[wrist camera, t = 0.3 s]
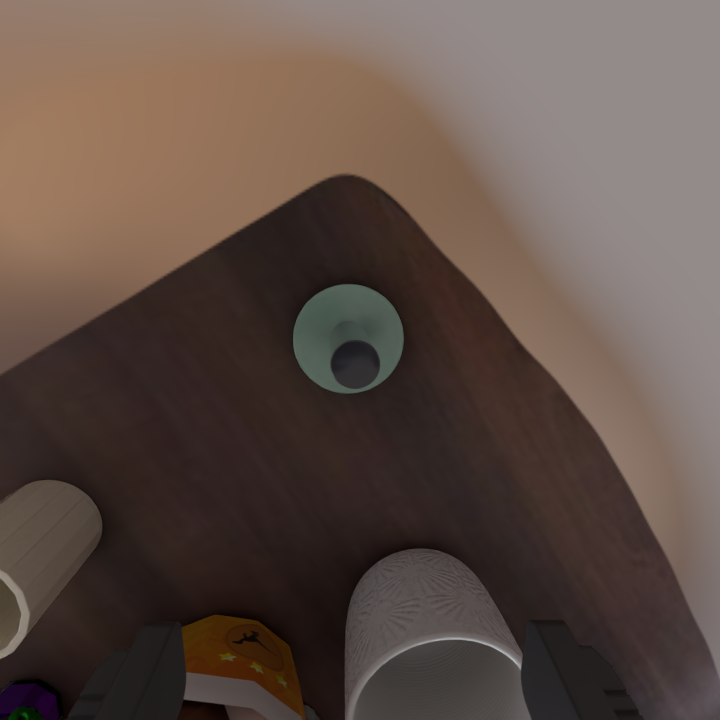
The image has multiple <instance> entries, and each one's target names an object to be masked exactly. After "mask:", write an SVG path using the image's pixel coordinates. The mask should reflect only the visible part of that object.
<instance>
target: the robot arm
mask: <svg viewBox="0 0 720 720" xmlns="http://www.w3.org/2000/svg"><path fill="white" fill-rule="evenodd" d="M521 686H522V692H523V696H524V700H525V703H526V706H527V709H528V712H529V714H530V717H531V720H644V719H643V717H642V715H639V712H638V709H637V707H636V705H635V704H634V702H633V700H632V699H631V697H630V695H627V693H626V689H625V687H624V685H623V684H622V682H621V680H620V679H619V677H618V675H617V674H616V672H615V670H614V669H613V667H612V666H611V665H610V664H609V663H608V662H607V661H606V660H605V659H604V658H603V657H602V656H601V655H600V654H599V653H598V652H597V651H595V650H594V649H593V648H592V647H591V646H578V644H577V642H576V641H575V639H574V637H573V635H572V633H571V631H570V630H569V628H568V626H567V625H566V623H565V622H564V621H562V620H530V621H528V623H527V627H526V635H525V642H524V650H523V657H522V665H521ZM185 688H186V665H185V655H184V646H183V636H182V628H181V624H180V622H145V623H144V624H143V625H142V626H141V628H140V630H139V631H138V633H137V635H136V637H135V639H134V641H133V643H132V645H131V647H130V649H115V650H114V651H113V652H112V653H111V654H110V655H109V656H108V657H107V658H106V659H105V660H104V661H103V662H102V663H101V664H100V665H99V666H98V667H97V668H96V669H95V670H94V671H93V673H92V675H91V676H90V678H89V680H88V682H87V683H86V685H85V687H84V689H83V690H82V692H81V694H80V698H79V700H77V701H76V703H75V704H74V706H73V708H72V710H71V711H70V713H69V715H68V719H67V720H177V718H178V715H179V712H180V709H181V706H182V703H183V699H184V694H185Z"/></svg>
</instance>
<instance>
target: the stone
mask: <svg viewBox="0 0 720 720" xmlns="http://www.w3.org/2000/svg"><path fill="white" fill-rule="evenodd" d="M303 706H304V711H305V717H306V720H321V719H320V718H319V717H318V715H316V714H315V711H314V710H313V709H312V708H310V707H309V706H307V705H303Z"/></svg>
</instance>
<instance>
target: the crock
mask: <svg viewBox="0 0 720 720" xmlns="http://www.w3.org/2000/svg"><path fill="white" fill-rule="evenodd" d="M101 535H102V519H101V515H100V512H99V510H98V508H97V506H96V505H95V503H94V502H93V500H92V499H91V498H90V497H89V496H88V495H87V494H86V493H85V492H83V491H82V490H80V489H79V488H77V487H75V486H73V485H71V484H68V483H65V482H62V481H56V480H40V481H35V482H31V483H28V484H26V485H24V486H22V487H20V488H19V489H17V490H16V491H14V492H13V493H11V494H9V495H8V496H7V497H5V498H4V499H3V500H1V501H0V659H2V658H3V657H5V656H7V655H9V654H11V653H13V652H14V651H15V650H16V649H17V647H18V646H19V645H20V644H21V642H22V641H23V640H24V638H25V637H26V636H27V635H28V633H29V632H30V631H31V630H32V628H33V627H34V626H35V625H36V623H37V622H38V621H39V620H40V618H41V617H42V616H43V614H44V613H45V612H46V611H47V609H48V608H49V607H50V606H51V604H52V603H53V602H54V601H55V599H56V598H57V597H58V596H59V594H60V593H61V592H62V590H63V589H64V588H65V587H66V585H67V584H68V583H69V582H70V580H71V579H72V578H73V577H74V575H75V574H76V573H77V572H78V570H79V569H80V568H81V566H82V565H83V564H84V563H85V561H86V560H87V559H88V558H89V556H90V555H91V554H92V552H93V551H94V550H95V548H96V547H97V545H98V543H99V541H100V539H101Z"/></svg>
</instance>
